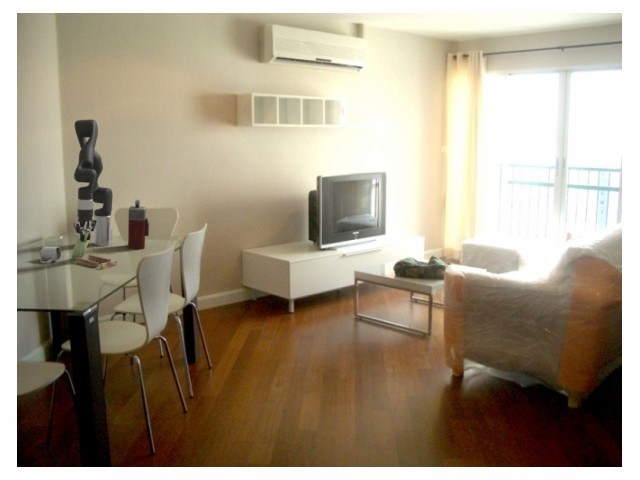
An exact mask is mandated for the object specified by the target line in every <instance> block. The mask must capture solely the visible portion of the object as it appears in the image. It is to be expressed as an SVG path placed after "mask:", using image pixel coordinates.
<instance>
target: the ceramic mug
mask: <svg viewBox="0 0 640 480" xmlns="http://www.w3.org/2000/svg"><path fill="white" fill-rule="evenodd" d="M39 257H40V259H39V261H40V263H41V264H43V265H47V264H51V263H52V262H53V263H54V262H55V263H56V262H59V261H60V259H61V257H62V249H61V247H60V246H43V247H42V248H41V249H40V251H39Z"/></svg>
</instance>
